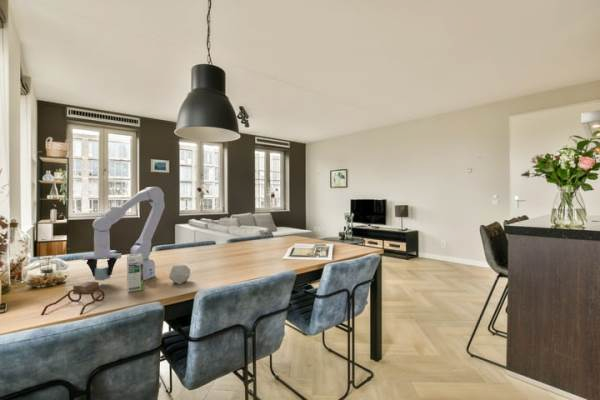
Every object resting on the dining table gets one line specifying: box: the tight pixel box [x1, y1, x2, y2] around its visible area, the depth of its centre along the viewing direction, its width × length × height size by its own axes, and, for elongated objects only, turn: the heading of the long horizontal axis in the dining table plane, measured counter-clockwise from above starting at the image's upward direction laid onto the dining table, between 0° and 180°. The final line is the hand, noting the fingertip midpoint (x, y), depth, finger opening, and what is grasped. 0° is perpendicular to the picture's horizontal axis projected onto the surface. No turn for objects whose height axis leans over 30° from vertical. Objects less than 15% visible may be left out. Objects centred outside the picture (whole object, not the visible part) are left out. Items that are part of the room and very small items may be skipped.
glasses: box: [40, 288, 106, 316], centre depth 102 cm, size 13×13×5 cm
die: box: [168, 263, 191, 285], centre depth 131 cm, size 8×9×10 cm
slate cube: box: [94, 265, 111, 281], centre depth 128 cm, size 4×4×5 cm
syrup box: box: [126, 254, 144, 293], centre depth 122 cm, size 6×6×14 cm
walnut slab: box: [72, 280, 100, 294], centre depth 120 cm, size 6×6×3 cm
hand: (102, 275), depth 128 cm, fingers closed on slate cube, 5 cm apart
